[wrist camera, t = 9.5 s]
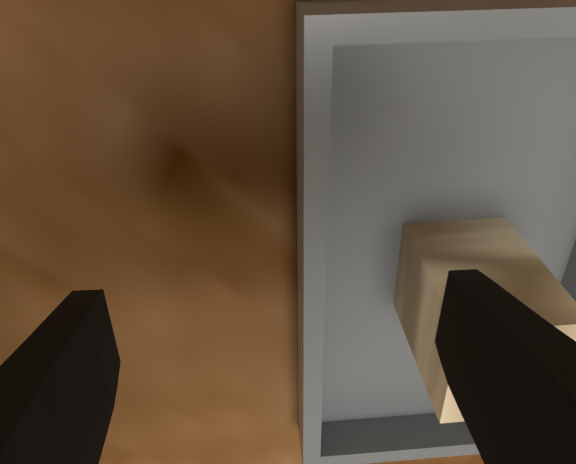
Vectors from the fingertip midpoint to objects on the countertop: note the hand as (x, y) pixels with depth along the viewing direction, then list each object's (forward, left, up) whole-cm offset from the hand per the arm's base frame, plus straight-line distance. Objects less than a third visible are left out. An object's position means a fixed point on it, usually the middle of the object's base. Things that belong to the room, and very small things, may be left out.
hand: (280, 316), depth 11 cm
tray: (+7, -5, -9) cm, 12 cm away
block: (+7, -5, -8) cm, 12 cm away
